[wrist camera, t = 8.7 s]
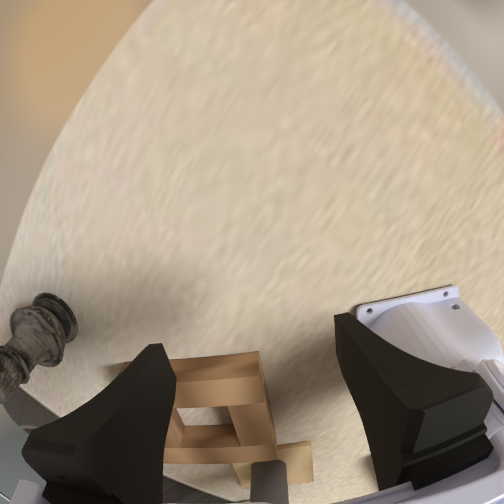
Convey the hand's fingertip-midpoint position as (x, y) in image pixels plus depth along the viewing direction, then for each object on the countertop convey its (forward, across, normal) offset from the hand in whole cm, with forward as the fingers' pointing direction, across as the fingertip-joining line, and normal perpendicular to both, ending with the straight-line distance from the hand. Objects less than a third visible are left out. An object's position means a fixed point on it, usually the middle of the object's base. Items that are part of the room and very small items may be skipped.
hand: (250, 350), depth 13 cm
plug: (+9, +2, +25) cm, 27 cm away
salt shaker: (+11, +19, +3) cm, 22 cm away
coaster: (+10, +2, +26) cm, 28 cm away
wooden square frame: (+10, +7, +14) cm, 19 cm away
